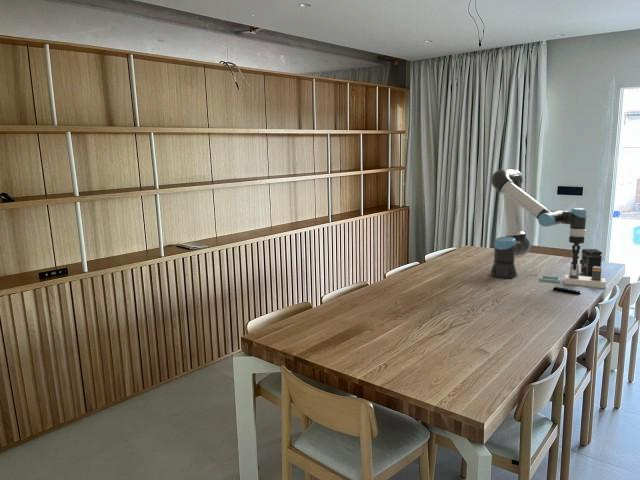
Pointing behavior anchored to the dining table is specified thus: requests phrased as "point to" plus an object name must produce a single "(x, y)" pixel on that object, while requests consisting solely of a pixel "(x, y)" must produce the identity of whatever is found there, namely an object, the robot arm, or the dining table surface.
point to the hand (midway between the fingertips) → (574, 272)
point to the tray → (550, 279)
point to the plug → (574, 275)
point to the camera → (590, 260)
